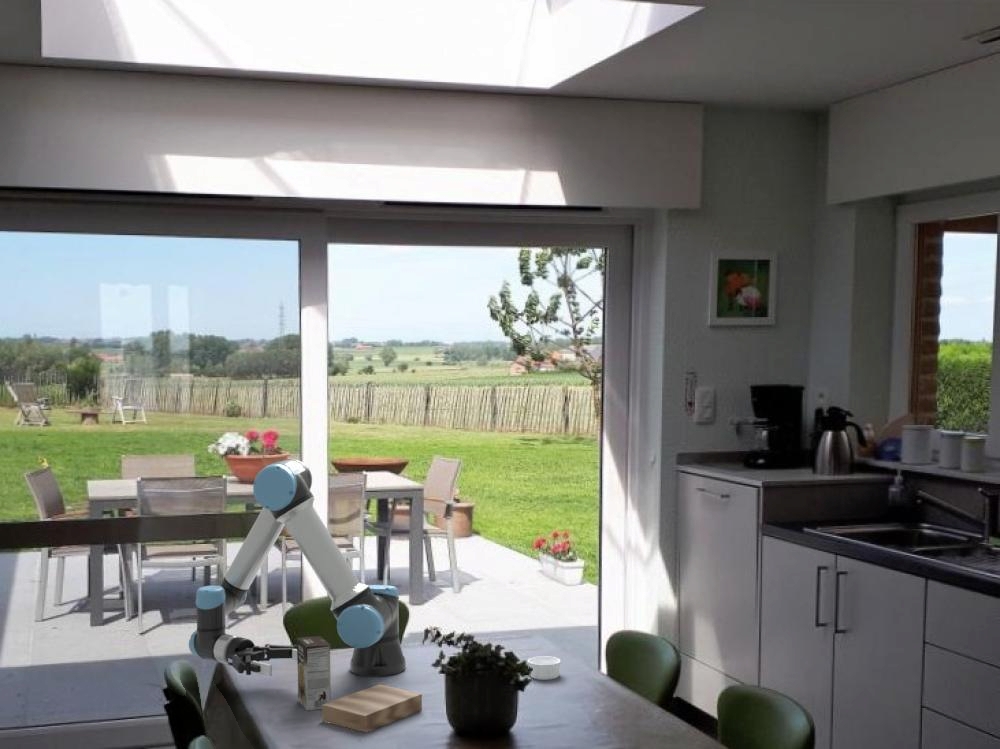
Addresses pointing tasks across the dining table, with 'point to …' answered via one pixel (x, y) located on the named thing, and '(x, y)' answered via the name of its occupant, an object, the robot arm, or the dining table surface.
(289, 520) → the robot arm
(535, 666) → the ramekin
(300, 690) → the coffee box
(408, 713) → the riser
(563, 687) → the dining table surface
